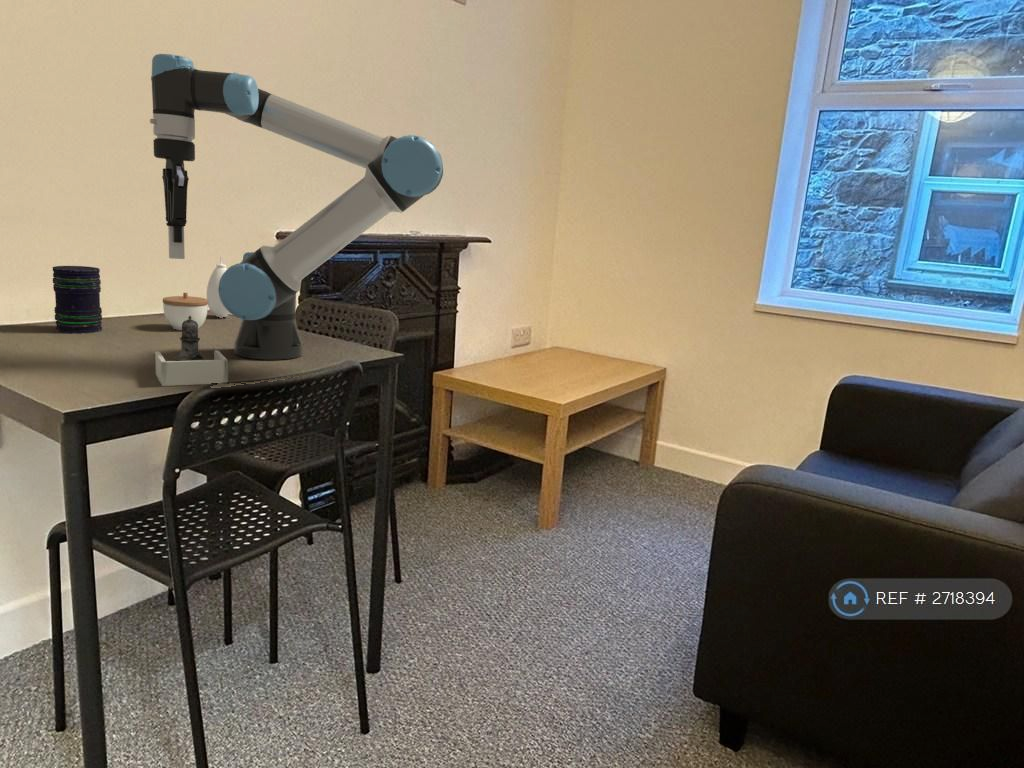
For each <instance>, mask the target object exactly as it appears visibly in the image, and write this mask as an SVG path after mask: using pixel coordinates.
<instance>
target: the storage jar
mask: <svg viewBox="0 0 1024 768" xmlns="http://www.w3.org/2000/svg"><path fill="white" fill-rule="evenodd" d="M100 270H101V269H100V268H99V267H94V266H86V265H85V266H83V265H56V266H52V271H53V274H52V277H53V278H52V284H53V287H52V289H53V291H54V295H55V298H54V299H55V307H54V310H53V311H54V321H55V324H56V327H55V330H56V332H58V333H62V332H63V334H73V333H74V334H75V333H76V334H77V335H78V334H79V335H81V334H82V333H85V334H95V333H94V332H96V333H100V332H102V331H103V327H102V324H103V322H102V320H103V310H102V307H101V300H100V299H101V298H100V297H101V295H100V293H101V290H102V288H101V287H102V286H101V284H102V279H101V275H100V272H101V271H100ZM99 331H100V332H99Z"/></svg>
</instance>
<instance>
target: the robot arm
mask: <svg viewBox="0 0 1024 768" xmlns="http://www.w3.org/2000/svg"><path fill="white" fill-rule="evenodd" d="M150 80H151V97H152V118H150V119H149V123H150V124H152V125H153V128H152V129H153V131H152V132H153V135H154V136H156V137H155V138H154V139H153V156H154V158H157V159H162V160H165V168H162V176H161V177H162V180H163V181H162V182H163V191H164V206H165V208H164V209H165V210H164V211H165V221H166V223H165V224H166V226H167V228H168V232H167V233H168V259H172V260H173V259H178V260H185V227H186V224H187V222H188V221H187V213H188V212H187V209H188V206H187V205H188V185H189V179H190V178H189V176H188V170H187V169H186V170H185V162H194V161H195V159H196V144H195V143H194V142H193V141H194V140H195V139H196V126H195V125H196V123H195V122H196V120H195V111H196V110H197V111H200V112H201V111H204V112H205V111H206V112H212V113H222V114H225V115H228V116H229V117H233V118H235V119H236V120H238V121H240V122H241V121H242V122H243V123H247V124H250V125H253V126H256V127H258V128H261V129H263V130H267V131H269V132H271V133H274V134H276V135H279V136H282V137H284V138H287V139H290V140H291V141H295V142H296V143H297V142H298V143H299V144H302V145H305V146H307V147H310V148H311V149H315V150H318V151H321V152H322V153H325V154H327V155H330V156H333V157H336V158H338V159H340V160H343V161H345V162H348V163H351V164H353V165H356V166H359V167H361V168H363V169H365V174H364V177H362V178H361V179H360V180H359V181H357V182H356V183H355V184H353V185H352V186H351V187H349V188H348V189H347V190H346V191H344V192H343V193H342V194H341V195H339V196H338V197H337V198H335V199H334V200H333V201H332V202H330V203H329V204H328V205H326V206H325V207H324V208H322V209H321V210H320V211H318V213H315V215H313V216H312V217H311V218H310V219H308V220H307V221H306V222H304V223H303V224H302V225H300V226H299V227H298V228H296V229H295V230H294V231H293V232H291V233H290V234H288V235H287V236H286V237H285V238H284V239H282V240H281V241H280V242H278V243H277V244H275V245H274V246H270V245H262V246H260V247H259V248H258V249H257V250H255V251H251V252H247V251H246V252H245V253H244V254H243V255H242V260H241V261H240V262H239V263H235V264H233V265H231V266H230V267H228V268H227V270H226V271H225V272H224V274H223V275H222V277H221V279H220V281H219V286H218V287H219V288H218V291H219V297H220V300H221V302H222V304H223V306H224V307H225V308H226V309H227V311H229V312H230V314H231V315H232V316H233V317H236V318H238V319H240V320H241V323H240V325H239V329H238V331H237V335H236V338H235V341H234V351H233V352H234V354H235V355H236V356H240V357H243V358H248V359H253V360H254V359H255V360H268V361H271V360H272V361H275V360H276V361H277V360H288V359H295V358H298V357H301V356H302V355H303V342H302V339H301V335H300V333H299V329H298V326H297V322H296V313H297V312H296V310H297V309H296V308H297V307H296V306H297V302H296V301H297V293H298V292H300V291H301V287H302V280H303V279H304V278H305V277H307V276H309V274H311V273H313V272H314V271H315V270H316V269H318V268H319V267H321V265H323V264H324V263H325V262H327V261H328V260H329V259H331V258H332V257H333V256H335V255H336V254H338V252H339V251H341V250H342V249H344V248H345V247H346V246H347V245H349V244H350V243H351V242H354V240H356V239H357V238H358V237H360V236H361V235H362V234H364V233H365V232H366V231H368V230H369V229H370V228H371V227H373V226H374V225H375V224H377V223H378V222H379V221H381V220H382V219H383V218H384V217H385V216H387V215H389V214H390V213H391V212H392V213H393V212H394V213H401V214H402V213H404V212H405V211H407V209H409V208H411V206H413V205H414V204H415V203H417V202H418V201H419V200H421V199H422V198H423V197H425V196H426V195H429V194H431V193H433V192H434V191H435V190H437V188H438V186H439V185H440V184H441V181H442V179H443V176H444V166H443V159H442V156H441V154H440V152H439V150H438V148H437V147H436V146H434V144H433V143H432V142H431V141H430V140H428V139H426V138H425V137H422V136H420V135H415V134H414V135H412V134H408V135H403V136H400V137H396V136H393V135H388V136H385V137H382V136H380V135H378V134H374V133H373V132H370V131H367V130H365V129H362V128H359V127H357V126H354V125H351V124H350V123H346V122H343V121H342V120H339V119H336V118H335V117H334V118H333V117H332V116H329V115H326V114H324V113H321V112H318V111H316V110H314V109H310V108H308V107H306V106H303V105H300V104H299V103H296V102H293V101H291V100H287V99H286V98H283V97H280V96H278V95H276V94H274V93H270V92H268V91H266V90H263V89H260V88H259V87H258V84H257V81H256V79H255V78H254V77H253V76H251V75H247V74H240V73H238V72H233V73H232V72H223V71H213V70H211V71H210V70H202V69H197V68H195V67H194V62H193V60H192V59H191V58H189V57H186V56H182V55H176V54H175V55H174V54H170V53H157V54H154V56H153V57H152V60H151V76H150Z"/></svg>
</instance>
